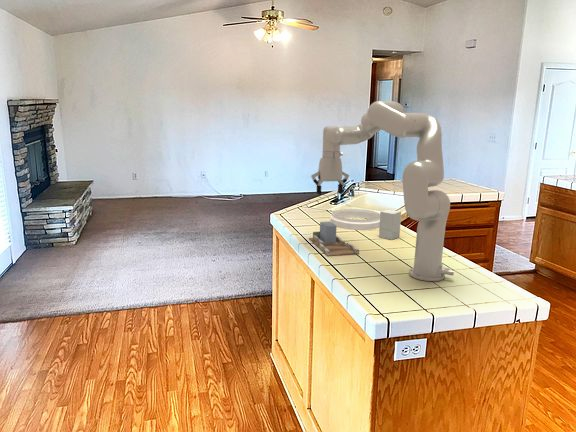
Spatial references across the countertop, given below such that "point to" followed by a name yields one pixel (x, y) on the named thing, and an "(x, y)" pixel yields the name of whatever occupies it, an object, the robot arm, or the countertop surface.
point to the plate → (353, 224)
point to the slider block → (328, 232)
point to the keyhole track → (334, 246)
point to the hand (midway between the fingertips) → (329, 193)
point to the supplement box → (390, 224)
